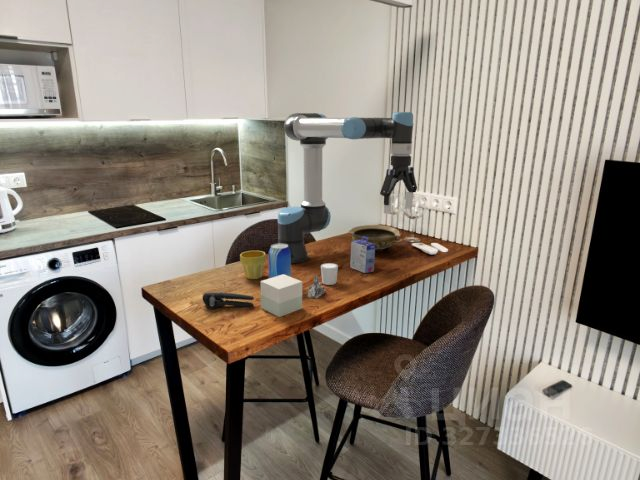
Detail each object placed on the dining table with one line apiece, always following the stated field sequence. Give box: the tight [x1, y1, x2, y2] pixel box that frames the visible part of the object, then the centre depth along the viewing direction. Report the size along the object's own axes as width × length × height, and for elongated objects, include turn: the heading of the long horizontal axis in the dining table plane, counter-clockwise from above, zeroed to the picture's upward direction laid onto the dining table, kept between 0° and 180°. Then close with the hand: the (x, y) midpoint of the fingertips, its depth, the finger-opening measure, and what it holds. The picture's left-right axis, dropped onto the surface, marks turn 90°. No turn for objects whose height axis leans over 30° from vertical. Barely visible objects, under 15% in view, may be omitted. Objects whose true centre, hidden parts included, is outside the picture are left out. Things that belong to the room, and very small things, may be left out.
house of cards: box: [307, 275, 327, 299], centre depth 160 cm, size 9×9×8 cm
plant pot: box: [239, 250, 267, 280], centre depth 176 cm, size 10×10×10 cm
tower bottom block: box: [260, 294, 303, 318], centre depth 147 cm, size 10×10×5 cm
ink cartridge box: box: [349, 236, 376, 274], centre depth 184 cm, size 10×6×14 cm, turn 38°
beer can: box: [268, 243, 292, 279], centre depth 166 cm, size 8×8×16 cm
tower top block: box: [260, 274, 303, 304], centre depth 145 cm, size 10×10×5 cm
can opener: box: [202, 291, 255, 309], centre depth 148 cm, size 18×7×6 cm, turn 91°
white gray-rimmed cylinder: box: [320, 262, 339, 286], centre depth 170 cm, size 7×7×7 cm
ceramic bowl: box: [347, 224, 403, 253], centre depth 212 cm, size 30×24×10 cm
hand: (398, 211), depth 166 cm, fingers open, 13 cm apart
